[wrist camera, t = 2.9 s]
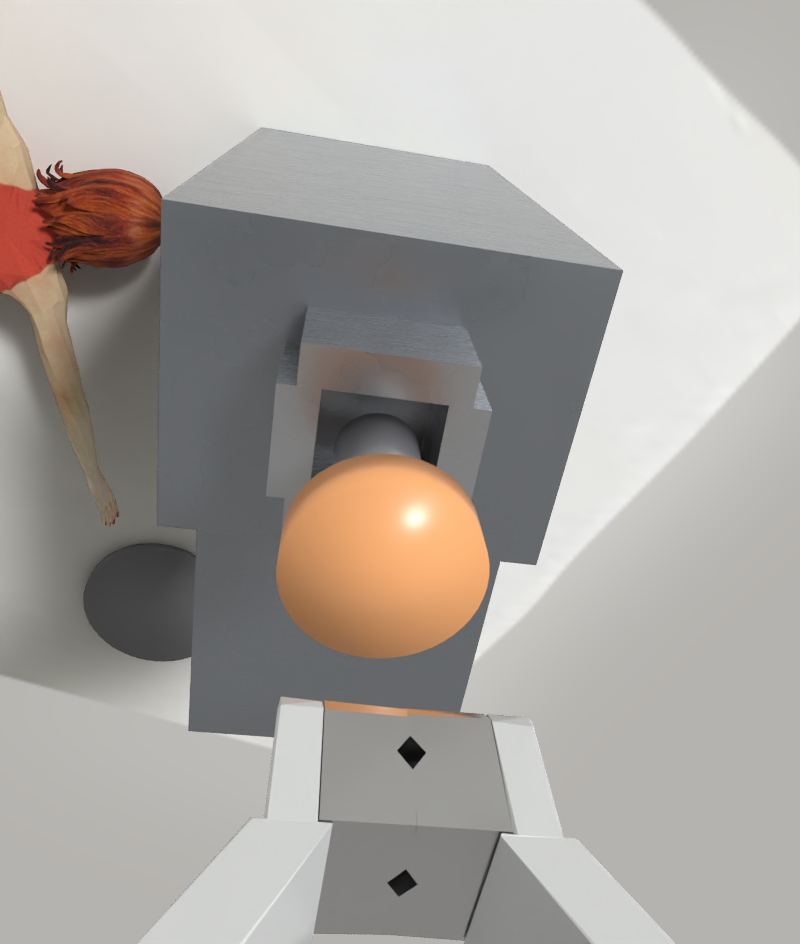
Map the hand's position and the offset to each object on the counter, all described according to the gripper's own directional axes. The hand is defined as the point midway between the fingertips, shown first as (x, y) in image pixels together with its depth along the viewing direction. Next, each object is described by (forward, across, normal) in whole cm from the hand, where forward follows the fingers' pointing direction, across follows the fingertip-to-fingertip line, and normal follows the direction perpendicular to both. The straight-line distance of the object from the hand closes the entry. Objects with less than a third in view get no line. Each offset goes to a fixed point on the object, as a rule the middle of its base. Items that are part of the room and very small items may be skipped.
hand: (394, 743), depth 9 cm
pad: (+29, -9, -22) cm, 38 cm away
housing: (+29, 0, -4) cm, 30 cm away
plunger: (+8, 0, 0) cm, 8 cm away
